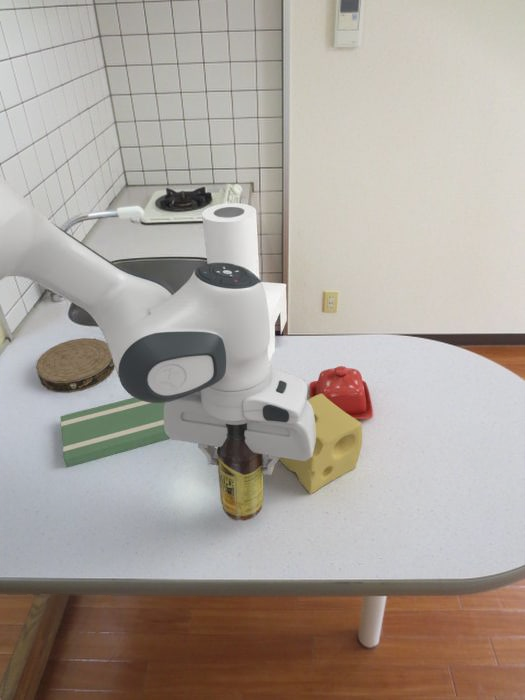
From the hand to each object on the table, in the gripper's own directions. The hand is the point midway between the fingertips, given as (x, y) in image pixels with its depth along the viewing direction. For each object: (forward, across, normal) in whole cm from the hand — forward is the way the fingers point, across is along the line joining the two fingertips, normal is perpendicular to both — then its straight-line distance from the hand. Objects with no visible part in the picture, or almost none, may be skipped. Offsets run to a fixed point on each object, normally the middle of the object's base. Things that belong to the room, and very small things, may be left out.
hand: (241, 466), depth 73 cm
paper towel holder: (+12, -16, +49) cm, 53 cm away
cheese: (+12, +8, +14) cm, 20 cm away
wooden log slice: (+12, -47, +30) cm, 57 cm away
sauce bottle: (+9, 0, 0) cm, 9 cm away
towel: (+12, -28, +15) cm, 34 cm away
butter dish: (+12, +10, +30) cm, 34 cm away
